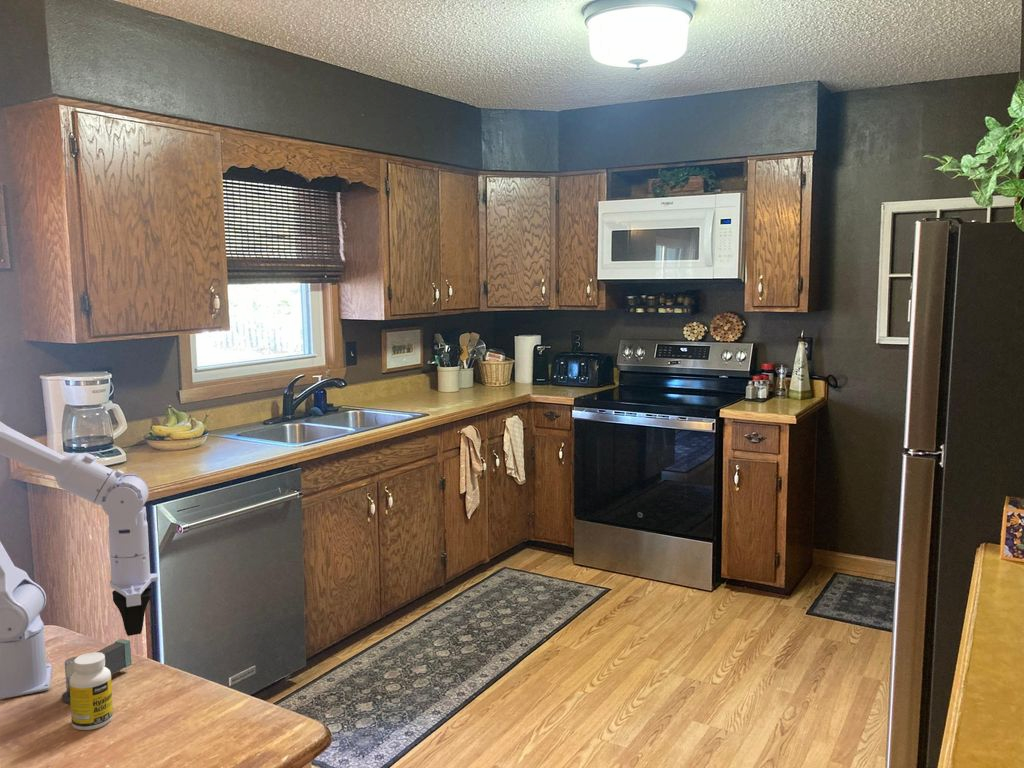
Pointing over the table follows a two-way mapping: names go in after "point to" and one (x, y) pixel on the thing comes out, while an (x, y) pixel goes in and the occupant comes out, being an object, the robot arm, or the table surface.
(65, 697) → the pivot base
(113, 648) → the swing bar
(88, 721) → the supplement bottle
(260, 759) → the table surface
